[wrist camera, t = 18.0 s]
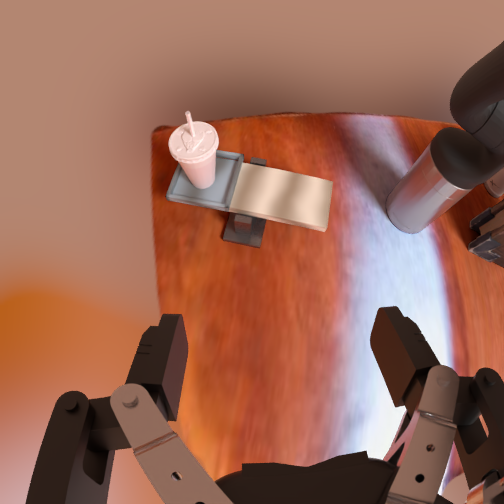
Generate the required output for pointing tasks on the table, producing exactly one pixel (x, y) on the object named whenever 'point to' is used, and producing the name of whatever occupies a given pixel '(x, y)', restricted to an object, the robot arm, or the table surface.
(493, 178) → the travel mug
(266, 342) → the table surface
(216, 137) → the smoothie
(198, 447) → the table surface
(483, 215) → the decorative book
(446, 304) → the table surface
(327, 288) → the table surface
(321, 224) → the balance beam
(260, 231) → the pivot stand
